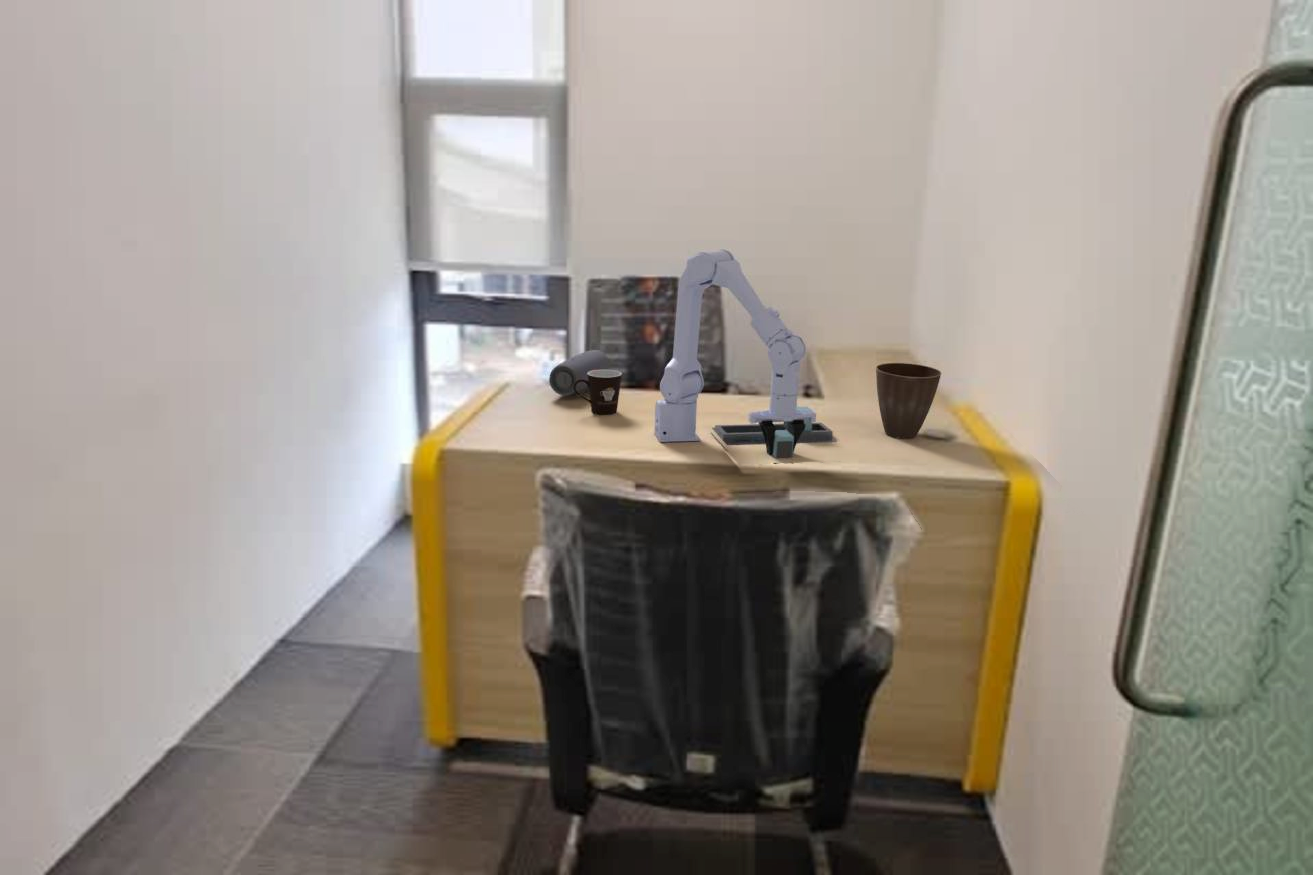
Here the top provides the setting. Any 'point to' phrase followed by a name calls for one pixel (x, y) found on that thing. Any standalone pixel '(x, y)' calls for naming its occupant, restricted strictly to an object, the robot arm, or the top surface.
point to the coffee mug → (602, 391)
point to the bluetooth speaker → (577, 372)
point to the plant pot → (905, 396)
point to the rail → (754, 435)
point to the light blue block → (808, 423)
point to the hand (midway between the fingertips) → (779, 453)
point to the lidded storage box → (783, 444)
